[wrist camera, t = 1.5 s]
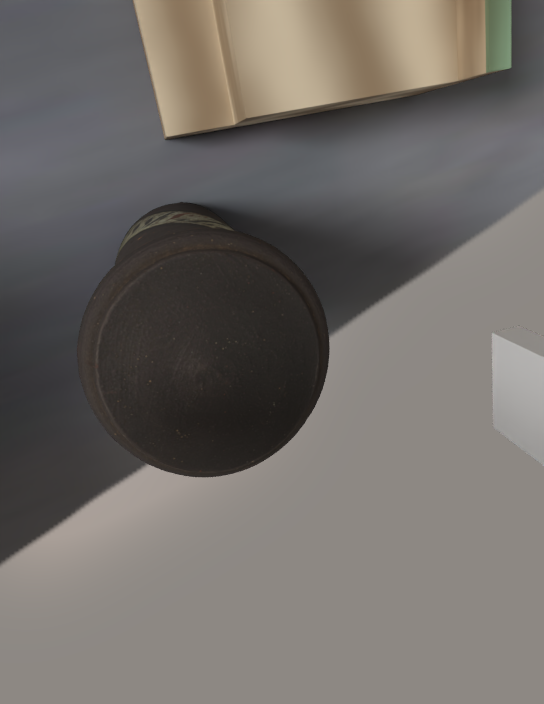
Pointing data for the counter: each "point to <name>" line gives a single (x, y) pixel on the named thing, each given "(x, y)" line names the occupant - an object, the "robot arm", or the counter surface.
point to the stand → (310, 55)
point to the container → (202, 345)
